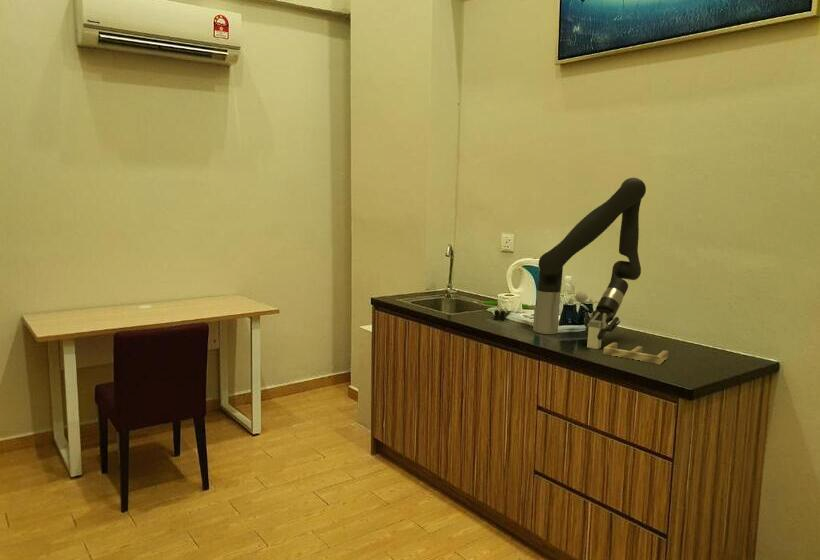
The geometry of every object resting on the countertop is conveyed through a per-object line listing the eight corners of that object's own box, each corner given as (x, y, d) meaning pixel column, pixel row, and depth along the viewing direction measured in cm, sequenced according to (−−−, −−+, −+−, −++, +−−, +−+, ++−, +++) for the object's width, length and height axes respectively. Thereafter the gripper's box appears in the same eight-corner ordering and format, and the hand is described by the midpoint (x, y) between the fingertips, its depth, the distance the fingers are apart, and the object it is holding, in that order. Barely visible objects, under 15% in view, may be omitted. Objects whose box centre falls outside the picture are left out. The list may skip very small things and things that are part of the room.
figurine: (531, 324, 281) (537, 311, 310) (532, 311, 280) (537, 299, 309) (467, 319, 288) (478, 307, 317) (468, 305, 287) (479, 294, 316)
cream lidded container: (586, 347, 241) (589, 321, 239) (590, 345, 244) (592, 319, 242) (597, 349, 238) (599, 322, 237) (600, 347, 242) (603, 321, 240)
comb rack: (603, 354, 231) (603, 347, 230) (612, 348, 240) (613, 342, 240) (659, 364, 220) (660, 357, 219) (667, 357, 229) (668, 351, 229)
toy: (590, 323, 285) (593, 290, 283) (593, 327, 278) (596, 292, 276) (564, 322, 286) (567, 289, 284) (566, 325, 279) (569, 291, 277)
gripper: (590, 293, 249) (572, 328, 242) (625, 298, 239) (607, 334, 232) (596, 305, 253) (578, 339, 246) (630, 311, 243) (613, 347, 236)
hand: (592, 337), depth 239 cm, fingers closed on cream lidded container, 4 cm apart
